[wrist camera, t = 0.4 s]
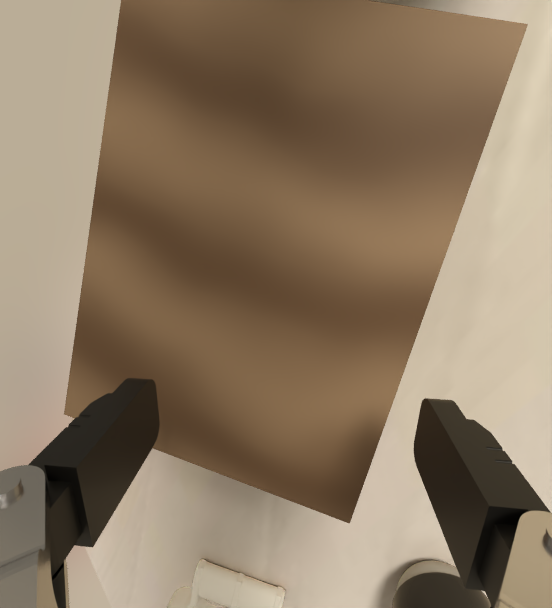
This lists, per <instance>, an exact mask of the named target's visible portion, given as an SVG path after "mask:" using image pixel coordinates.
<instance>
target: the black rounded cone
mask: <svg viewBox="0 0 552 608" xmlns="http://www.w3.org/2000/svg"><path fill="white" fill-rule="evenodd" d="M490 605H491V603H490V601H489V599H488V598H487V597H486V595H485V594H484V593H483V592H482V591H481V590H472V589H465V588H464V585H463V583H462V580H461V578H460V575H459V573H458V570H457V568H456V567H454V566H452V565H450V564H447V563H444V562H440V561H432V560H430V561H422V562H419V563H416V564H414V565H412V566H411V567H409V568H408V569H407V570H406V571H405V572H404V573H403V575H402V576H401V578H400V580H399V582H398V585H397V589H396V593H395V595H394V598H393V603H392V608H490Z"/></svg>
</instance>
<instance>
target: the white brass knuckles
mask: <svg viewBox="0 0 552 608" xmlns="http://www.w3.org/2000/svg"><path fill="white" fill-rule="evenodd" d="M284 595H285V590H284V589H283V588H282V587H279V586H278V587H276V586H273V585H270V584H267V583H265V582H262V581H259V580H256V579H254V578H251V577H248V576H245V575H244V574H243V573H237V572H234V571H232V570H229V569H226V568H223V567H220V566H218V565H215V564H212V563H209V562H207V561H206V560H204V559H202V560H201V559H200V561H199V563H198V565H197V568H196V571H195V574H194V578H193V582H192V587H182V588H179V589H178V590H177V591H175V593H174V594H173V596H172V598H171V600H170V602H169V604H168V606H167V608H222V607H219V606H217V605H214V604H211V603H209V602H208V601H207V600H210V601H213V602H215V603H218V604H221V605H223V606H226V607H229V608H282V605H283V601H284Z"/></svg>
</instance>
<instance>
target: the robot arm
mask: <svg viewBox="0 0 552 608" xmlns="http://www.w3.org/2000/svg"><path fill="white" fill-rule="evenodd" d="M159 427H160V420H159V410H158V401H157V391H156V384H155V381H154V380H152V379H140V378H127V379H125V380H124V381H123V382H122V383H121V384H120V385H119V387H118V388H117V389H116V390H115V391H114V392H113V393H107V394H105V395H103V396H102V397H100V398H98V399H97V400H95V401H93V402H91V403H90V404H89V405H88V406H87V407H86V408H85V409H84V410H83V411H82V412H81V413H80V414H79V417H76V418H75V419H74V420H73V421H72V422H71V423H70V424H69V426H68V428H67V427H66V428H65V429H64V430H63V431H62V432H61V433H60V434H59V435H58V436H57V437H56V438H55V439H54V440H53V441H52V442H51V443H50V444H49V445H48V446H47V447H46V448H45V449H44V450H43V451H42V452H41V453H40V454H39V455H38V456H37V457H36V458H35V459H34V460H33V461H32V462H31V463H30V464H29V465H24V466H17V467H12V468H9V469H6V470H3V471H1V472H0V608H70V607H69V590H68V589H69V588H68V571H67V562H66V557H67V555H68V554H69V552H70V551H71V549H72V548H73V546H74V545H78V546H86V547H93V546H94V545H95V543H96V541H97V540H98V538H99V536H100V535H101V533H102V531H103V530H104V528H105V526H106V524H107V523H108V521H109V519H110V518H111V516H112V514H113V513H114V511H115V509H116V508H117V506H118V504H119V503H120V501H121V499H122V498H123V496H124V494H125V493H126V491H127V489H128V488H129V486H130V484H131V483H132V481H133V479H134V478H135V476H136V474H137V473H138V471H139V469H140V468H141V466H142V464H143V463H144V461H145V459H146V458H147V456H148V454H149V452H150V451H151V449H152V447H153V446H154V444H155V442H156V440H157V437H158V433H159ZM414 457H415V462H416V466H417V468H418V471H419V473H420V476H421V478H422V481H423V484H424V486H425V489H426V491H427V494H428V496H429V499H430V501H431V504H432V506H433V509H434V512H435V514H436V517H437V519H438V522H439V524H440V527H441V529H442V532H443V534H444V537H445V540H446V542H447V545H448V547H449V550H450V552H451V555H452V557H453V560H454V562H455V565H456V567H457V570H458V573H459V575H460V578H461V580H462V583H463V585H464V588H465V589H472V590H482V591H485V592H486V594H487V597H488V599H489V601H490V603H491V605H490V608H552V513H551V512H550V511H549V510H548V508H547V507H546V506H545V504H544V503H543V502H542V500H541V499H540V498H539V496H538V495H537V494H536V492H535V491H534V490H533V488H532V487H531V486H530V484H529V483H528V482H527V480H526V479H525V478H524V476H523V475H522V474H521V472H520V471H519V470H518V468H517V467H516V466H515V464H512V460H511V459H510V458H509V456H508V455H507V454H506V452H505V451H503V450H502V447H501V446H500V444H499V443H498V442H497V440H496V439H495V438H494V436H493V435H492V434H491V433H490V432H489V431H488V430H486V429H485V428H484V427H483V426H481V425H480V424H479V423H477V422H476V421H475V420H468V419H466V418H465V416H464V415H463V413H462V412H461V410H460V409H459V407H458V406H457V405H456V403H455V402H454V401H452V400H441V399H424V400H423V401H422V404H421V408H420V414H419V419H418V424H417V430H416V435H415V441H414Z"/></svg>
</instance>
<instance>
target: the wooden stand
mask: <svg viewBox="0 0 552 608" xmlns="http://www.w3.org/2000/svg"><path fill="white" fill-rule="evenodd" d="M527 25H528V24H523V23H516V22H509V21H503V20H496V19H489V18H483V17H476V16H469V15H463V14H456V13H449V12H443V11H436V10H429V9H423V8H416V7H409V6H403V5H396V4H390V3H383V2H376V1H370V0H121V6H120V13H119V20H118V27H117V35H116V43H115V49H114V57H113V64H112V71H111V78H110V86H109V93H108V101H107V108H106V115H105V122H104V129H103V136H102V143H101V151H100V158H99V165H98V172H97V179H96V187H95V194H94V201H93V208H92V217H91V223H90V230H89V237H88V245H87V252H86V259H85V266H84V274H83V282H82V288H81V295H80V303H79V310H78V317H77V324H76V332H75V339H74V346H73V353H72V361H71V368H70V375H69V382H68V389H67V397H66V404H65V411H64V414H65V415H68V416H70V417H73V418H76V417H79V414H80V413H81V412H82V411H83V410H84V409H85V408H86V407H87V406H88V405H89V404H90V403H91V402H93V401H95V400H97V399H98V398H100V397H102V396H103V395H105V394H107V393H113V392H114V391H115V390H116V389H117V388H118V387H119V385H120V384H121V383H122V382H123V381H124V380H125V379H127V378H140V379H152V380H154V381H155V384H156V391H157V401H158V410H159V420H160V427H159V433H158V437H157V440H156V442H155V444H154V446H153V447H152V448H154V449H156V450H159V451H162V452H164V453H167V454H169V455H172V456H175V457H177V458H180V459H183V460H185V461H188V462H190V463H193V464H196V465H198V466H201V467H203V468H206V469H209V470H211V471H214V472H216V473H219V474H222V475H224V476H227V477H229V478H232V479H235V480H237V481H240V482H243V483H245V484H248V485H250V486H253V487H256V488H258V489H261V490H263V491H266V492H269V493H271V494H274V495H276V496H279V497H282V498H284V499H287V500H290V501H292V502H295V503H297V504H300V505H303V506H305V507H308V508H310V509H313V510H316V511H318V512H321V513H323V514H326V515H329V516H331V517H334V518H336V519H339V520H342V521H344V522H347V523H350V521H351V518H352V515H353V512H354V510H355V507H356V504H357V501H358V498H359V496H360V493H361V490H362V487H363V484H364V482H365V479H366V476H367V473H368V470H369V468H370V465H371V462H372V459H373V456H374V454H375V451H376V448H377V445H378V442H379V440H380V437H381V434H382V431H383V428H384V426H385V423H386V420H387V417H388V414H389V412H390V409H391V406H392V403H393V400H394V398H395V395H396V392H397V389H398V386H399V384H400V381H401V378H402V375H403V372H404V370H405V367H406V364H407V361H408V358H409V356H410V353H411V350H412V347H413V344H414V342H415V339H416V336H417V333H418V330H419V328H420V325H421V322H422V319H423V316H424V314H425V311H426V308H427V305H428V302H429V300H430V297H431V294H432V291H433V288H434V286H435V283H436V280H437V277H438V274H439V272H440V269H441V266H442V263H443V260H444V258H445V255H446V252H447V249H448V246H449V244H450V241H451V238H452V235H453V232H454V230H455V227H456V224H457V221H458V218H459V216H460V213H461V210H462V207H463V204H464V202H465V199H466V196H467V193H468V190H469V188H470V185H471V182H472V179H473V176H474V174H475V171H476V168H477V165H478V162H479V160H480V157H481V154H482V151H483V148H484V146H485V143H486V140H487V137H488V134H489V132H490V129H491V126H492V123H493V120H494V118H495V115H496V112H497V109H498V106H499V104H500V101H501V98H502V95H503V92H504V90H505V87H506V84H507V81H508V78H509V76H510V73H511V70H512V67H513V64H514V62H515V59H516V56H517V53H518V50H519V48H520V45H521V42H522V39H523V36H524V34H525V31H526V28H527Z"/></svg>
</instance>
